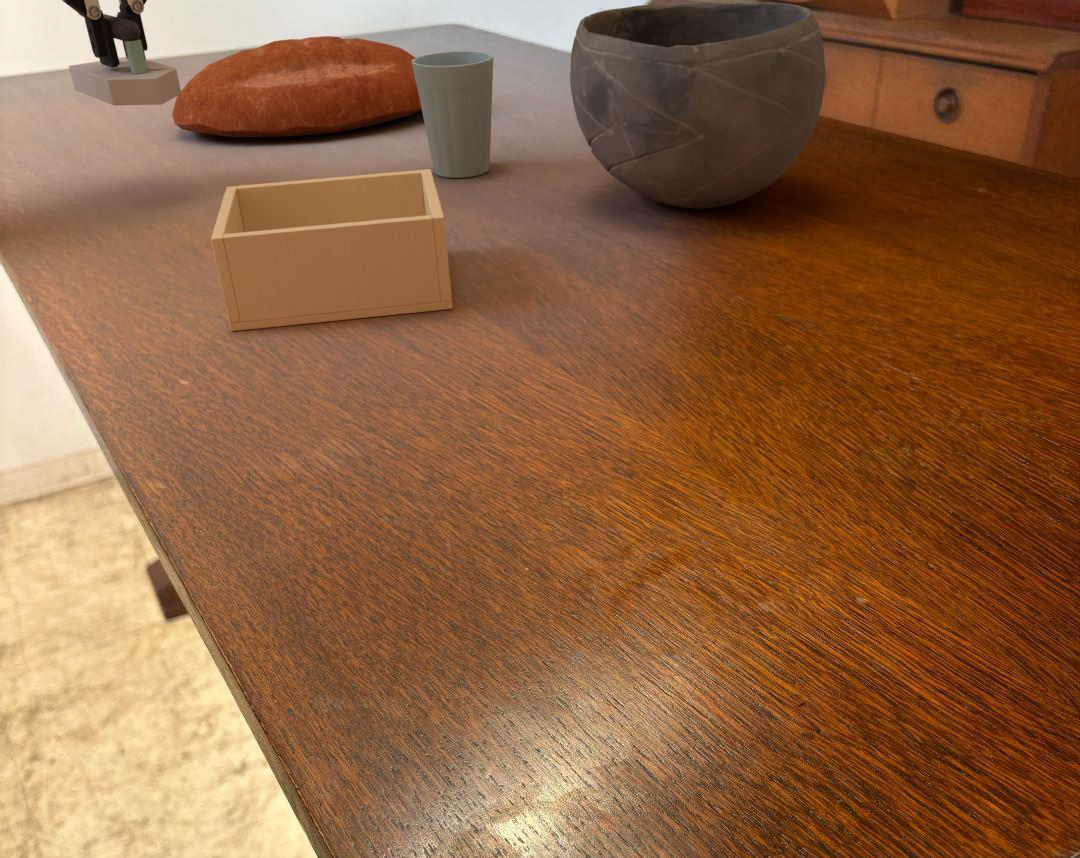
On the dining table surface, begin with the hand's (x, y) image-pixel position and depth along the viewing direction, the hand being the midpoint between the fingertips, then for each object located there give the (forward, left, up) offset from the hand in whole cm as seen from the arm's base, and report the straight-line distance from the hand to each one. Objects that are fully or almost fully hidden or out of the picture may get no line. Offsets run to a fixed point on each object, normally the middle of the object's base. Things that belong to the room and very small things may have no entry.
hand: (123, 61), depth 100 cm
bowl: (+49, -18, -12) cm, 54 cm away
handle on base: (0, -1, -3) cm, 3 cm away
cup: (+30, -2, -12) cm, 33 cm away
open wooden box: (+18, -32, -12) cm, 39 cm away
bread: (+15, +26, -12) cm, 32 cm away
